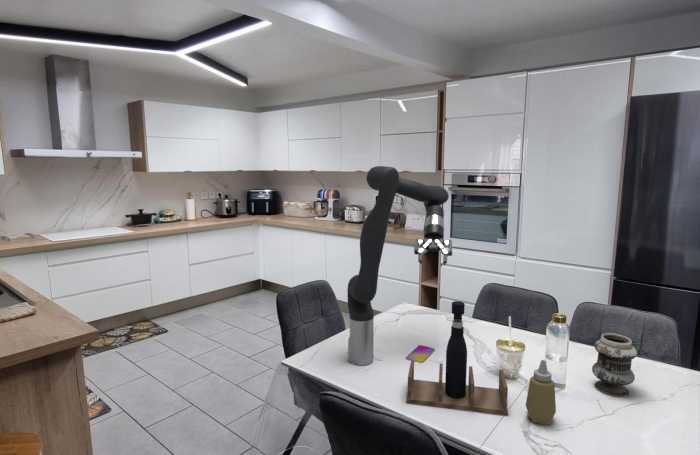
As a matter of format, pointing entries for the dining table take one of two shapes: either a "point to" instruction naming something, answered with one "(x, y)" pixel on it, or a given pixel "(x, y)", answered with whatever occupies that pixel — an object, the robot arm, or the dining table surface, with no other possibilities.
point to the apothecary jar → (614, 364)
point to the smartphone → (420, 354)
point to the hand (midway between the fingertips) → (432, 263)
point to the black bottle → (456, 355)
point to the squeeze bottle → (541, 396)
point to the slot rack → (473, 400)
